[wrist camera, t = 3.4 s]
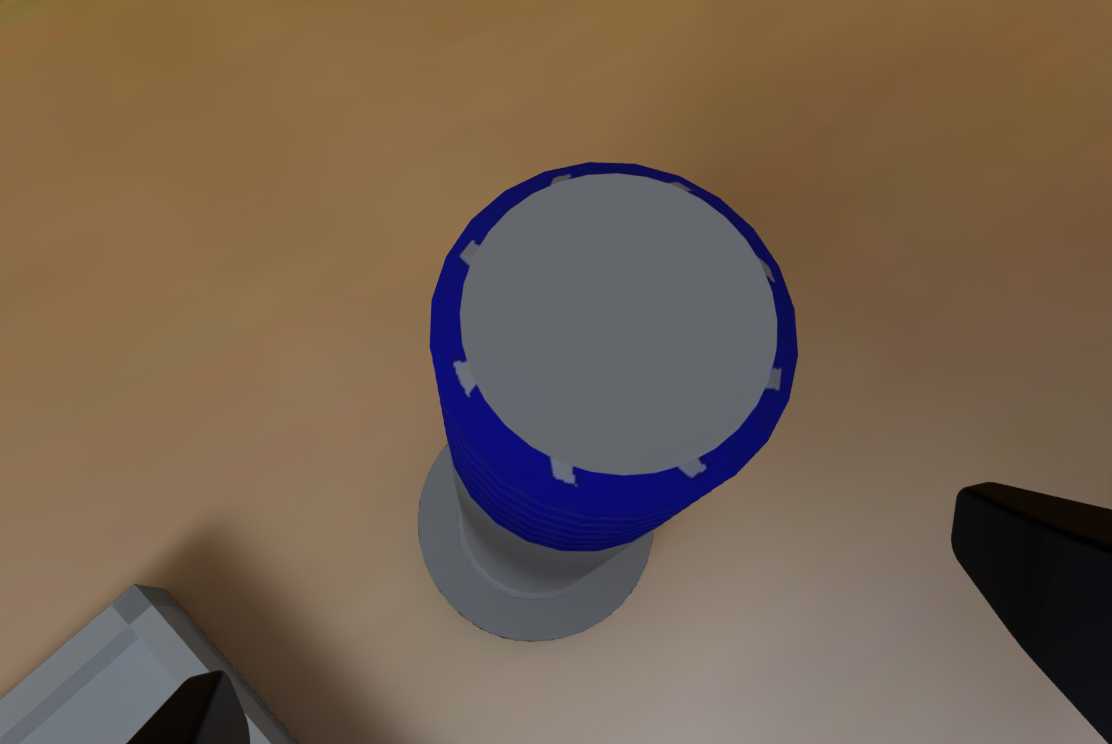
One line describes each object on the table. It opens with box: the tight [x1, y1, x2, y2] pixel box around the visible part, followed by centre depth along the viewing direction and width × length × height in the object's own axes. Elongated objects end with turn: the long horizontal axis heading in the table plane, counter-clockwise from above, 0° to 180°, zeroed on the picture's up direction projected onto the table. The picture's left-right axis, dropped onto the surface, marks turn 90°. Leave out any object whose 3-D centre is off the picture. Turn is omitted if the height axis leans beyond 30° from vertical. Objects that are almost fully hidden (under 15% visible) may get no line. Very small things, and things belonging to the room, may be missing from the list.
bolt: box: [418, 162, 798, 642], centre depth 15 cm, size 16×5×5 cm
